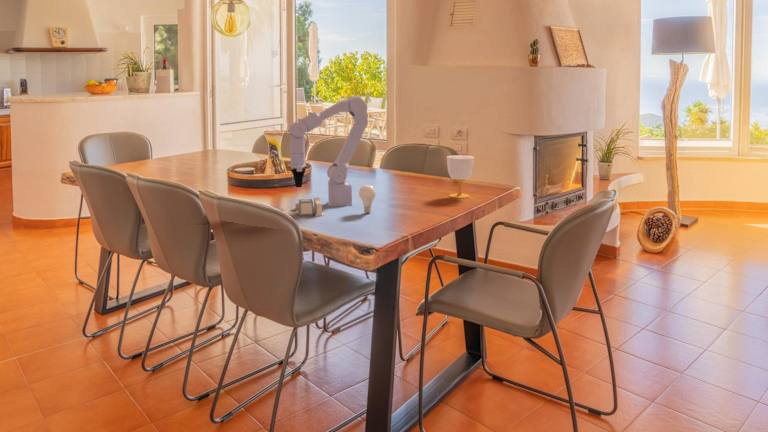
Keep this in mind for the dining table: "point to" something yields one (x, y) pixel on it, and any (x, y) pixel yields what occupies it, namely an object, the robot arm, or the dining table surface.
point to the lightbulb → (367, 197)
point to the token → (297, 206)
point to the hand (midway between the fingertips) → (298, 187)
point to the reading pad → (304, 215)
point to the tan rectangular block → (317, 207)
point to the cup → (460, 170)
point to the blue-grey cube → (305, 207)
